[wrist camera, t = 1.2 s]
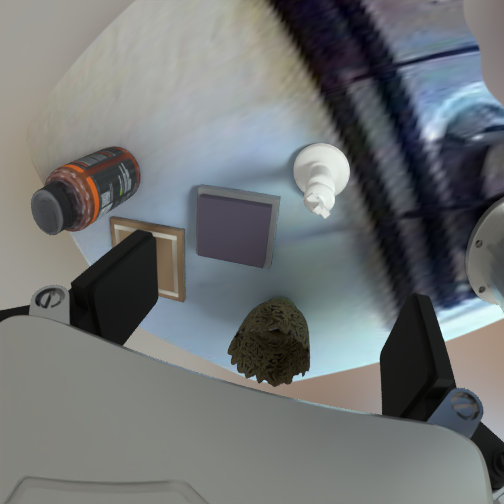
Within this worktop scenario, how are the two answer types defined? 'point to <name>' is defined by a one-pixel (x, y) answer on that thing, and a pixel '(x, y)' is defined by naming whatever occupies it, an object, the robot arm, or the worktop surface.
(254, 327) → the cup
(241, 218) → the ink pad
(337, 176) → the chess piece
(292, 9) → the worktop surface
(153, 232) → the stamp board
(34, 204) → the supplement bottle
